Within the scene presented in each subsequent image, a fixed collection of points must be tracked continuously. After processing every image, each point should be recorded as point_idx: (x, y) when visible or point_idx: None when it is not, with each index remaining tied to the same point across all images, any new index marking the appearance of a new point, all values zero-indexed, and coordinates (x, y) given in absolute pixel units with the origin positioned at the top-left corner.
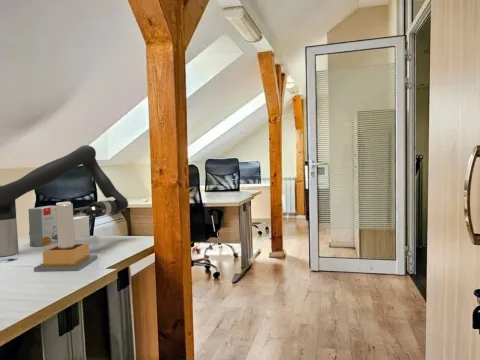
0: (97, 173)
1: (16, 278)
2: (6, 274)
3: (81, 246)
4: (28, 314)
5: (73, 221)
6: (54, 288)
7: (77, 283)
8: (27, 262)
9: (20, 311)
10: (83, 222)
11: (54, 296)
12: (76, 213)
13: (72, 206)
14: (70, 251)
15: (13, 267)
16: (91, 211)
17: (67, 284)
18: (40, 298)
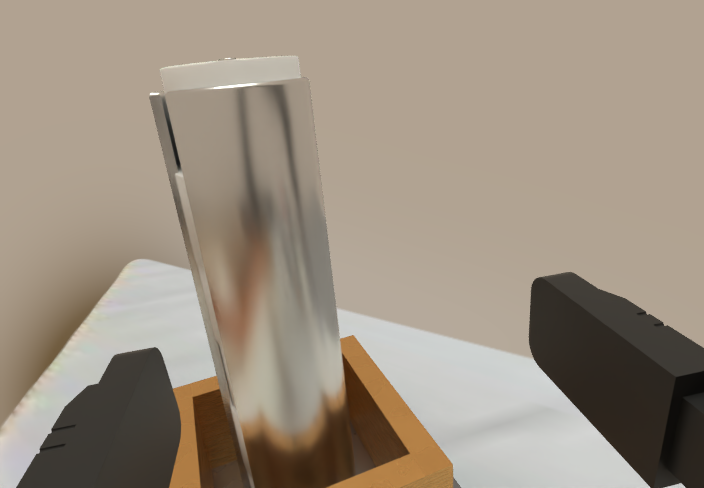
0: None
1: (359, 336)
2: (450, 341)
3: (174, 468)
4: (122, 275)
5: (207, 279)
6: (146, 336)
7: (83, 374)
8: (623, 459)
9: (148, 275)
10: None
11: (113, 315)
12: (651, 466)
13: (172, 122)
14: (193, 387)
15: (554, 388)
16: (46, 447)
17: None
18: (145, 303)
